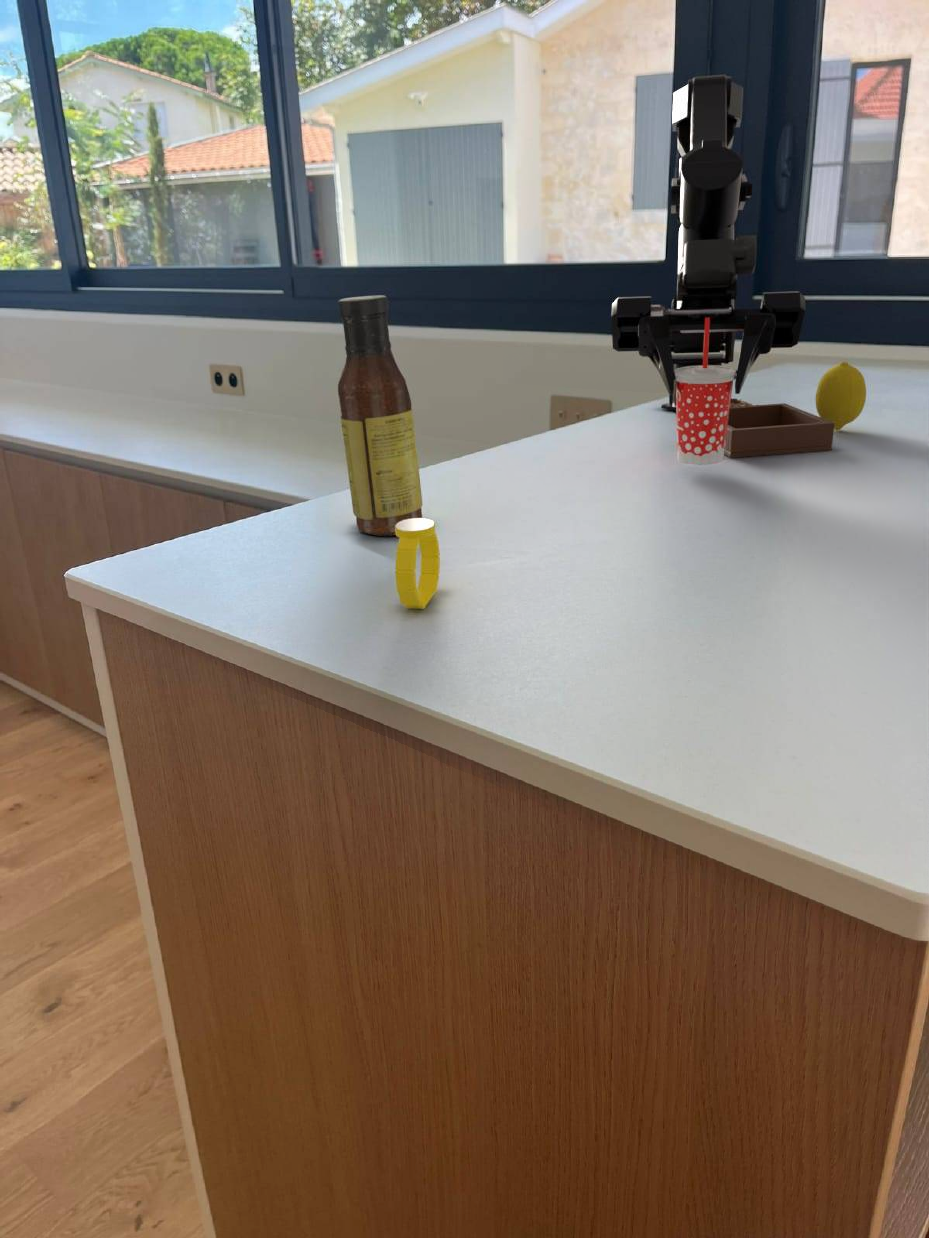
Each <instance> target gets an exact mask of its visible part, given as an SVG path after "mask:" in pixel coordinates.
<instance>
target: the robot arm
mask: <svg viewBox="0 0 929 1238" xmlns="http://www.w3.org/2000/svg"><path fill="white" fill-rule="evenodd" d="M672 95H673V96H672V97H673V98H672V122H671V123H672V124H671V126H672V127H671V129H672V131H671V132H677V152H678V153H679V154H680V156H681V157H680V158H679V165H678V166H679V167H678V177H675V178H672V179H671V188H670V189H671V192H670V193H671V195H670V214H677V220H676V222H677V223H678V224H679V225H680V227H679V228H678V229H679V230H678V246H677V247H678V250H677V279H676V280H677V282H676V283H677V284H676V294H675V295H674V297H673V299H672V301H671V308H667V307H666V306H665V305H663V304H652V295H651V296H650V295H649V296H648V295H647V296H622V297H621V296H618V297H617V298H616V299H615V300H614V302H612V304H611V314H610V315H611V318H610V319H611V341H612V349H613V350H614V351H616V352H619V353H620V352H638V355H639V356H641V357H644V358H645V357H646V358H649V360H650V361H651V363H652V364H653V366H654V367H655V369H656V370H657V372H658V373H659V375H660V377H661V380H662V382H663V385H664V386H665V388H666V391H667V393H668V403H663V404H660V408H661V409H662V410H663V409H664V410H669V411H676V381H675V380H674V370H675V369H677V368H681V367H688V366H701V365H703V349H704V329H705V317H710V328H709V348H708V365H715V366H723V364H725V365H729V363H733V362H734V353H735V343H736V334H737V332H742V337H741V344H740V350H739V356H738V361H737V368H736V370H737V373H736V379H735V380H734V393H735V395H739V394H740V393H741V391H742V389H743V387H744V385H745V382H746V380H747V377H748V375H749V373H750V370H751V368H752V367H753V365H754V364H755V362H756V361H757V360H758V359H759V356H760V355H767V354H769V353H770V352H771V350H772V349H787V348H788V349H789V348H790V349H791V348H793V347H795V346H797V345H798V344H799V340H800V336H801V331H802V328H803V323H804V319H805V315H806V297H805V296H804V295H803V294H802V293H801V291H799V290H794V291H793V290H792V291H765V292H764V291H763V292H762V298H761V303H760V308H735V300H737V297H738V275H752V274H754V272H755V268H756V264H757V235H755V234H752V235H751V234H750V235H748V234H747V235H737V236H736V238H735V225H734V224H735V222H736V220H737V217H738V211H743V210H744V207H745V205H746V202H747V201H748V200H749V199H750V198H751V197H752V195H753V183H752V182H749V180H748V178H747V177H746V173H744V174H743V167H744V164H743V160H742V159H741V157H740V156H739V154H737V152H736V151H734V150H733V149H732V148H733V142H734V138H735V134H736V133H735V131H736V130H735V129H736V128H740V127H741V123H742V118H743V117H742V115H743V99H744V98H743V97H744V87H743V86H742V85H740V84H737V83H736V82H732V76H727V75H726V74H715V75H703V76H694V77H693V78H692V79H687V84H686V85H685V86H683V87H681V88H679V89H677V90H676V91H674V92H673V93H672ZM721 352H723V353H721ZM672 353H673V354H672ZM698 353H699V354H698Z"/></svg>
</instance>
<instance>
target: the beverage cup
mask: <svg viewBox="0 0 929 1238" xmlns="http://www.w3.org/2000/svg"><path fill="white" fill-rule="evenodd" d="M709 328H710V317H705V329H704V349H703V353H702V354H703V365H701V366H688V367H681V368H677V369H675V370H674V380H675V381H676V410H675V411H676V447H677V449H676V450H677V451H676V452H677V453H676V454H677V455H676V456H677V460H678V462H680V463H683V464H686V465H687V464H689V465H699V466H703V465H704V466H705V465H714V464H718V463H721V462H723V461H724V460H725V459H724V458H725V454H724V451H725V443H726V435H727V427H728V419H729V411H730V403H731V398H732V393H733V386H734V381H735V380H736V374H737V368H735V367H732V366H725V365H722V366H715V365H708V354H709V353H708V348H709Z"/></svg>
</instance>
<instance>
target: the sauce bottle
mask: <svg viewBox="0 0 929 1238" xmlns="http://www.w3.org/2000/svg"><path fill="white" fill-rule="evenodd" d="M337 302H338V303H337V304H338V314H339V317H340V319H341V321H342V326H343V334H344V341H345V347H344V350H345V354H346V357H345V363H344V367H343V369H342V370H341V373H340V374H341V375H340V378H339V380H338V383H337V395H338V399H339V407H340V413H341V415H340V424H341V430H342V431H341V432H342V436H343V445H344V453H345V459H346V460H345V461H346V467H347V475H348V481H349V482H348V483H349V490H350V491H349V492H350V498H351V506H352V513H353V515H354V516H355V517H356V518H355V520H356V521H355V522H356V525H357V529H358V530H359V531H360V533H362V534H368V535H374V536H377V537H382V536H385V537H387V536H396V534H395V525H396V524H397V523H398V522H400V521H403V520H406V519H412V518H423V513H422V507H423V495H422V487H421V486H422V485H421V477H420V468H419V460H418V458H419V457H418V449H417V441H416V440H417V439H416V431H415V422H414V413H413V406H412V405H413V404H412V399H411V395H410V391H409V389H408V388H409V387H408V386H407V385H408V384H407V381H406V378H405V377H404V376H403V374H402V372H401V370H400V368H399V366H398V364H397V362H396V360H395V359H396V358H395V357H394V354H393V351H392V343H391V339H390V331H389V323H388V315H389V311H390V310H389V304H388V298H387V296H386V295H363V296H353V297H352V296H351V297H344V298H341V299H339V300H338V301H337Z"/></svg>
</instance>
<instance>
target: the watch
mask: <svg viewBox="0 0 929 1238" xmlns="http://www.w3.org/2000/svg"><path fill="white" fill-rule="evenodd" d="M395 534H396V535H395V536H396V537H397V538H399V540H398V544H397V546H396V547H397V548H396V553H395V565H394V569H395V571H394V575H395V586H396V592H397V595H398V598H399V600H400V603H401V605H403V606H404V607H405V608H406V609H412V610H413V609H415V610H425V608H426V607H427V605H428V604H429V602H430V601H431V599H432V598H433V596H434V594H436V593H437V589H438V583H439V578H440V567H441V566H440V564H441V562H440V561H441V560H440V559H441V557H440V555H441V553H440V546H439V540H438V539H439V537H438V536H437V533H436V524H435V522H434V521H433V520H432V519H429V518H424V517H422V518H412V519H406V520H403V521H400V522H398V523H397V524H396V525H395ZM418 549H419V550H420V574H419V578H418V579H419V580H418V585H417V577H416V568H417V567H416V565H417V555H418V554H417V553H418Z"/></svg>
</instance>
